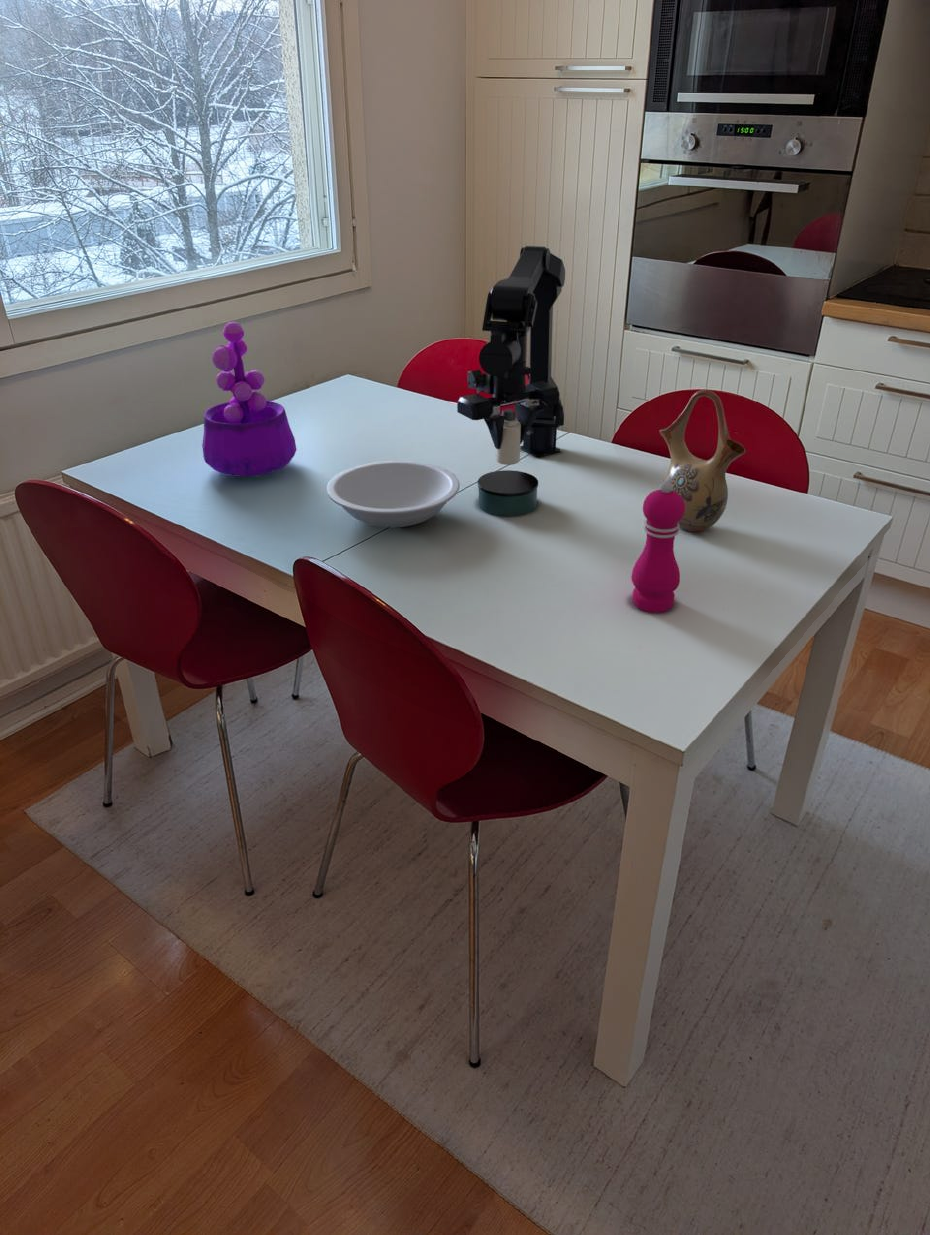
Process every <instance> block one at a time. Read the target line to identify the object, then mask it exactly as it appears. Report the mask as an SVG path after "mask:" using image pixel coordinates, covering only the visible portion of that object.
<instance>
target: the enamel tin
mask: <svg viewBox="0 0 930 1235" xmlns="http://www.w3.org/2000/svg"><path fill="white" fill-rule="evenodd" d="M477 487H478V506H479V508H480V509H481V511H483V512H485V513H487V514H490V515H494V516H499V517H500V516H501V517H517V516H522V515H526V514H529V513H531V512H533V511H534V510H536V507H537V500H538V487H539V479H538V478H537V477H536V476H535V475H533V474H531V473H528V472H524V471H519V470H510V469H508V470H507V469H505V470H495V471H490V472H487V473H484V474H483V475H481V476H480V477H479V478H478V480H477Z"/></svg>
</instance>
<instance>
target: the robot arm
mask: <svg viewBox="0 0 930 1235" xmlns="http://www.w3.org/2000/svg"><path fill="white" fill-rule="evenodd" d="M565 281H566V267H565V265H564V261H563V259H561V258H560V257H559V256H556V255H555V254H553V253H552V252H551V250H550V248H549V247H547V246H541V245H540V246H539V245H538V246H537V245H525V246H523V247H521V248H520V252H519V258H518V259H517V262H516V263H515V265H514V267H513V269H512V271H511V273H510V274H509V276H508V277H506V278H504V279H500V280H497V282H496V283H494V285H493V286H492V288H491V291H488V293H487V298H486V303H485V310H484V315H483V321H482V327H481V330H482V332H490V339H489V340H488V341H487V342H486V344H484V345H482V348H481V349H480V351H479V354H478V361H479V362H478V363H479V366H480V368H481V369H479V368H478V369H472V370H468V371H467V378H466V381H467V386H468V388H469V389H470V390H474V389H476V392H477V393H475V394H470V395H463V396H460V397H459V399H458V401H457V402H456V406H457V408H456V410H457V411H456V412H457V413H458V414H459V415H462V416H464V417H466V418H468V419H469V420H472V421H481V420H484V422H485V424H486V426H487V429H488V431H489V434H490V438H491V440H492V443H493V445H494V448H495V449H496V448H497V449H500V447H501V443H502V435H503V427H504V419H505V416H503V415H502V413H501V408H504V407H508V406H509V407H510V406H513V407H514V410H515V411H516V418H517V419H518V422H519V423H520V424H521V437H520V450H522V451H524V452H526V453H528V454H530V455H531V456H533V457H536V458H540V457H544V456H547V455H552V454H556V453H560V452H561V448H559V447H557V435H558V434H557V433H558V432H557V431H558V429H559V428H560V427H563V426H564V425H565V412H564V406H563V403H562V398H560V397H561V392H560V391H559V386H558V385H557V383H556V382H555V380H554V378H553V377H552V366H553V364H552V360H553V358H552V357H553V325H554V324H553V322H554V317H553V316H554V305H555V303H556V301H557V300H558V298H559V296H560V294H561V293H562V290H563V289H562V288H563V287H564V285H565ZM528 333H529V366H527V355H528V354H527V351H528V348H527V347H528ZM481 370H482V371H483V372H485V373H482V371H481ZM527 375H529V381H528V382H527ZM484 392H485V394H487V395H489V396H490V395H492V397H484V396H482V395H480V393H481V394H482V393H484Z"/></svg>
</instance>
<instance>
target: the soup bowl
mask: <svg viewBox="0 0 930 1235" xmlns="http://www.w3.org/2000/svg"><path fill="white" fill-rule="evenodd" d="M460 486H461V483H460V480H459V478H458V477H457V475H455V473H453V472H452V471H450V470H449V469H447V468H444V467H442V466H439V465H436V464H432V463H428V462H421V461H413V460H383V461H382V460H381V461H375V462H368V463H364V464H359V465H357V466H353V467H349V468H347V469H345V470H343V471H341V472H339V473H337V474H336V475H334V476H333V477H332V478H331V479H330V480H329V482H328V483H327V486H326V494H327V496H328V497H329V499H330V500H331V501H332V502H333V503H335V504H336V505H338V506H340V507H341V508H342V509H343V510H344V511H345V512H346V513H347V514H349V515H350V517H353V518H354V519H355V520H356V521H357V520H358V521H359V522H362V523H364V524H367V525H370V526H374V527H381V528H404V527H409V526H415V525H417V524H420V523H423V522H425V521H427V520H429V519H431V518H433V517H434V516H435V515H436V514H438V513H439V512H440V511H441V510H443V508H444V506H445V505H446V504H447V503H448V502H449V501H450V500H452V499H453V498H454V497H456V495H457V494H458V492H459V490H460Z"/></svg>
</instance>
